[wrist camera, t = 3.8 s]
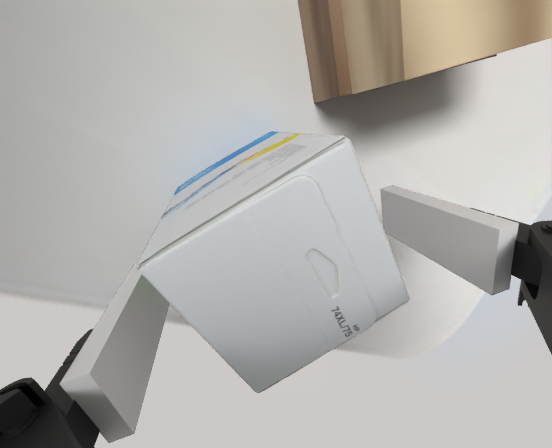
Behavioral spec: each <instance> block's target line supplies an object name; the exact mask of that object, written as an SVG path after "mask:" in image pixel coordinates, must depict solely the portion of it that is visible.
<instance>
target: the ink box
mask: <svg viewBox="0 0 552 448" xmlns="http://www.w3.org/2000/svg"><path fill="white" fill-rule="evenodd" d="M136 270H138V271H139V272H141V273H142V275H143V276H144V277H145V278H146V279H147V280H148V281H149V282H150V283H151V284H152V285H153V286H154V287H155V288H156V289H157V290H158V291H159V292H160V293H161V295H162V296H163V297H164V298H165V299H166V300H167V301H168V302H169V303H170V304H171V305H172V306H173V307H174V308H175V309H176V310H177V311H178V312H179V313H180V314H181V315H182V316H183V317H184V318H185V319H186V320H187V321H188V322H189V324H190V325H191V326H192V327H193V328H194V329H195V330H196V331H197V332H198V333H199V334H200V335H201V336H202V337H203V338H204V339H205V340H206V341H207V342H208V343H209V344H210V345H211V346H212V347H213V349H215V351H216V352H217V353H218V354H219V355H220V356H221V357H222V358H223V359H224V360H225V361H226V362H227V363H228V364H229V365H230V366H231V367H232V368H233V369H234V370H235V372H236V373H237V374H238V375H239V376H240V377H241V378H242V379H243V380H244V381H245V382H246V383H247V384H248V385H249V386H250V387H251V388H252V389H253V390H254V391H255V392H257V393H259V392H262V391H264V390H266V389H267V388H269V387H271V386H272V385H274V384H276V383H278V382H279V381H281V380H282V379H284V378H286V377H288V376H290V375H291V374H293V373H294V372H296V371H298V370H299V369H301V368H303V367H304V366H306V365H308V364H309V363H311V362H313V361H314V360H316V359H317V358H319V357H321V356H322V355H324V354H326V353H327V352H329V351H331V350H332V349H334V348H336V347H337V346H339V345H341V344H343V343H344V342H346V341H348V340H349V339H351V338H353V337H355V336H356V335H358V334H360V333H362V332H364V331H365V330H367V329H368V328H369V327H371V326H372V325H373V324H374V323H375V322H376V321H378V320H379V319H381V318H383V317H384V316H386V315H387V314H389V313H390V312H392V311H394V310H395V309H397V308H398V307H400V306H401V305H403V304H405V303H406V302H407V301H408V300H409V296H408V293H407V291H406V288H405V285H404V282H403V280H402V277H401V274H400V271H399V269H398V266H397V263H396V260H395V258H394V255H393V252H392V250H391V247H390V244H389V241H388V239H387V236H386V233H385V230H384V228H383V225H382V222H381V220H380V217H379V214H378V211H377V209H376V206H375V203H374V200H373V198H372V195H371V192H370V190H369V187H368V184H367V182H366V179H365V177H364V174H363V172H362V169H361V167H360V164H359V161H358V159H357V156H356V153H355V151H354V148H353V145H352V143H351V141H350V140H349V139H348V138H346V137H345V136H343V135H314V134H296V133H282V132H269V133H267V134H266V135H264V136H262V137H260V138H259V139H257V140H255V141H253V142H252V143H250V144H248V145H246V146H245V147H243V148H241V149H239V150H238V151H236V152H234V153H232V154H231V155H229V156H227V157H225V158H224V159H222V160H221V161H219V162H217V163H215V164H214V165H212V166H210V167H209V168H207V169H206V170H204V171H202V172H201V173H199V174H198V175H196V176H194V177H193V178H191V179H190V180H188V181H187V182H185V183H184V184H182V185H181V186H179V187H178V188H177V190H176V192H175V194H174V196H173V198H172V200H171V201H170V203H169V205H168V207H167V209H166V211H165V212H164V214H163V216H162V218H161V220H160V221H159V223H158V225H157V227H156V229H155V231H154V233H153V235H152V237H151V238H150V240H149V242H148V244H147V246H146V248H145V249H144V251H143V253H142V255H141V257H140V259H139V261H138V263H137V265H136Z"/></svg>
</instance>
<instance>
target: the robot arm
mask: <svg viewBox="0 0 552 448" xmlns="http://www.w3.org/2000/svg"><path fill="white" fill-rule="evenodd" d="M380 190H381V203H382V216H383V228H384V230H385V233H387V234H389V235H390V236H392V237H394V238H395V239H397V240H399V241H400V242H402V243H404V244H406V245H407V246H409V247H411V248H412V249H414V250H416V251H417V252H419V253H421V254H423V255H424V256H426V257H428V258H429V259H431V260H433V261H434V262H436V263H438V264H439V265H441V266H443V267H445V268H446V269H448V270H450V271H451V272H453V273H455V274H456V275H458V276H460V277H462V278H463V279H465V280H467V281H468V282H470V283H472V284H473V285H475V286H477V287H478V288H480V289H482V290H484V291H485V292H487V293H489V294H490V295H495V294H497V293H500V292H502V291H505V290H507V289H509V286H510V280H511V275H513V276H515V277H517V278H519V279H521V285H520V291H519V297H518V305H520V306H522V302H523V301H524V300H526V301H527V303H528V307H529V308H530V310H531V312H532V314H533V316H534V318H535V320H536V322H537V325H538V327H539V329H540V331H541V333H542V335H543V337H544V339H545V342H546V344H547V346H548V348H549V350H550V352H551V354H552V221H540V222H536V223H533V224H532V225H527V224H524V223H521V222H517V221H514V220H510V219H507V218H504V217H500V216H495V215H493V214H490V213H485V212H483V211H480V210H476V209H473V208H467V207H464V206H460V205H457V204H454V203H450V202H447V201H444V200H440V199H437V198H433V197H430V196H427V195H423V194H420V193H417V192H413V191H410V190H407V189H403V188H400V187H397V186H393V185H392V186H388V187H385V188H382V189H380ZM136 265H137V264H134V265H133V267H132V268H131V270H130V271H129V273H128V275H127V276H126V278H125V279H124V281H123V283H122V284H121V286H120V287H119V289H118V291H117V292H116V294H115V296H114V297H113V299H112V300H111V302H110V304H109V305H108V307H107V308H106V310H105V312H104V313H103V315H102V316H101V318H100V320H99V321H98V323H97V324H96V326H95V328H94V329H91V330H89V331H88V332H87V333H86V334H85V335H84V336H83V337H82V338H81V339H80V340H79V341H78V342H77V343H76V345H75V346H74V348H73V349H72V350H71V352H70V355H69V356H67V358H66V359H65V361H64V362H63V366H61V367H60V369H59V370H58V372H57V373H56V375H55V376H54V378H53V379H52V381H51V382H50V384H49V385H48V387H47V388H46V390H45V391H44V390H43V389H42V388H41V387H40V386H39V384H38V383H37V382H36V381H35V380H34V379H32V378H23V379H20V380H18V381H15V382H13V383H11V384H9V385H8V386H6V387H4V388H2V389H1V390H0V448H94V445H95V442H96V440H97V437H98V434H99V432H100V433H101V434H102V435H103V437H104V438H105V439H106V440H107V441H108V443H111V442H113V441H116V440H119V439H121V438H124V437H126V436H129V435H131V434H134V432H135V429H136V425H137V422H138V418H139V414H140V410H141V407H142V403H143V399H144V395H145V392H146V388H147V385H148V381H149V377H150V373H151V370H152V366H153V363H154V358H155V355H156V351H157V348H158V344H159V340H160V337H161V333H162V329H163V326H164V322H165V318H166V315H167V311H168V307H169V304H170V303H169V302H168V301H167V300H166V299H165V298H164V297H163V296H162V295H161V293H160V292H159V291H158V290H157V289H156V288H155V287H154V286H153V285H152V284H151V283H150V282H149V281H148V280H147V279H146V278H145V277H144V276H143V275H142V273H141V272H139V271H138V270H136Z"/></svg>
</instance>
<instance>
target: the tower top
mask: <svg viewBox="0 0 552 448" xmlns="http://www.w3.org/2000/svg"><path fill="white" fill-rule="evenodd" d="M340 4H341V11H342V19H343V27H344V35H345V43H346V50H347V58H348V66H349V74H350V81H351V89H352V94H356V93H359V92H363V91H367V90H371V89H375V88H379V87H382V86H386V85H390V84H394V83H398V82H401V81H405V80H409V79H412V78H416V77H419V76H422V75H426V74H429V73H433V72H436V71H439V70H443V69H446V68H450V67H453V66H457V65H460V64H463V63H467V62H470V61H474V60H477V59H480V58H484V57H487V56H491V55H494V54H498V53H501V52H504V51H508V50H511V49H515V48H518V47H521V46H525V45H528V44H532V43H535V42H539V41H542V40H545V39H549V38H552V0H340Z"/></svg>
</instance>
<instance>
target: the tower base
mask: <svg viewBox="0 0 552 448" xmlns="http://www.w3.org/2000/svg"><path fill="white" fill-rule="evenodd" d="M298 5H299V11H300V18H301V24H302V30H303V36H304V43H305V49H306V55H307V61H308V68H309V74H310V80H311V86H312V93H313V99H314V103H317V102H321V101H324V100H328V99H332V98H336V97H340V96H344V95H348V94H351V93H352V89H351V81H350V74H349V66H348V58H347V50H346V43H345V35H344V27H343V19H342V11H341V4H340V0H298ZM496 55H497V54H494V55H491V56H487V57H484V58H480V59H477V60H474V61H470V62H467V63H471V62H475V61H478V60H482V59H486V58H490V57H494V56H496ZM467 63H463V64H467ZM463 64H460V65H463ZM457 66H459V65H457ZM453 67H456V66H453ZM450 68H452V67H450ZM446 69H448V68H446ZM443 70H444V69H443ZM439 71H440V70H439Z"/></svg>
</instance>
